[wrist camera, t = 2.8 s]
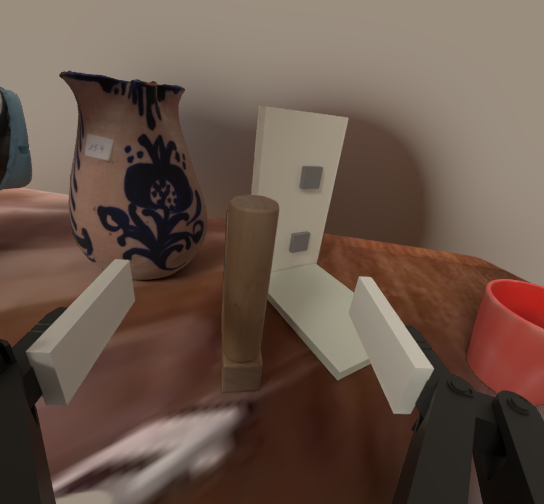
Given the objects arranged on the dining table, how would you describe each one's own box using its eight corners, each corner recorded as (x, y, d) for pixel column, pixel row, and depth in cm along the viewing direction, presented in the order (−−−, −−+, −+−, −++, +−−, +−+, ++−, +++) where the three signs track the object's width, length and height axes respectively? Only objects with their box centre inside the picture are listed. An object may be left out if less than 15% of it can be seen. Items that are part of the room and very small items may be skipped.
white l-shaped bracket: (244, 276, 44) (258, 105, 33) (309, 263, 50) (339, 116, 40) (333, 382, 28) (416, 124, 17) (411, 343, 35) (506, 137, 24)
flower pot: (541, 442, 25) (612, 367, 21) (432, 353, 34) (467, 287, 29) (584, 400, 30) (649, 332, 26) (479, 331, 39) (515, 271, 34)
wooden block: (250, 316, 36) (264, 174, 28) (260, 392, 26) (286, 211, 18) (220, 316, 35) (227, 171, 27) (220, 394, 26) (230, 208, 18)
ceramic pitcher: (109, 317, 33) (62, 63, 21) (60, 248, 45) (13, 64, 34) (228, 272, 45) (238, 93, 33) (163, 227, 57) (154, 85, 46)
